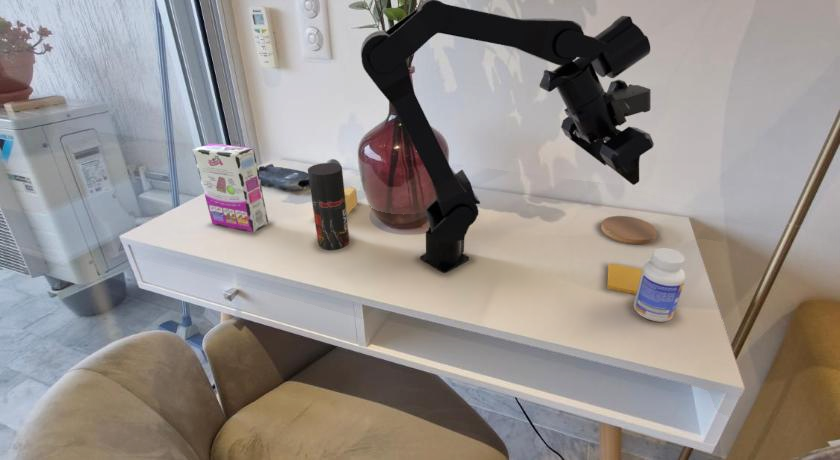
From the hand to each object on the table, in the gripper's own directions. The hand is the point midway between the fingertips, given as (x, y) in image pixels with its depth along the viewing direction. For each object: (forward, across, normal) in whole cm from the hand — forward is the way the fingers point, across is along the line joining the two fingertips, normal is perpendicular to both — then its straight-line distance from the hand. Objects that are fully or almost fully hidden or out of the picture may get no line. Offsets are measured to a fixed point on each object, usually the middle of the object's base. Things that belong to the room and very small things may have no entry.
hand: (620, 172), depth 74 cm
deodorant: (-16, +9, +50) cm, 53 cm away
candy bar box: (-27, +20, +66) cm, 74 cm away
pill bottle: (+11, -18, +10) cm, 24 cm away
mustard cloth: (+12, -11, +9) cm, 18 cm away
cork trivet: (+16, +5, +2) cm, 17 cm away
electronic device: (-24, +41, +61) cm, 77 cm away
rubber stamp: (-16, +23, +50) cm, 57 cm away
